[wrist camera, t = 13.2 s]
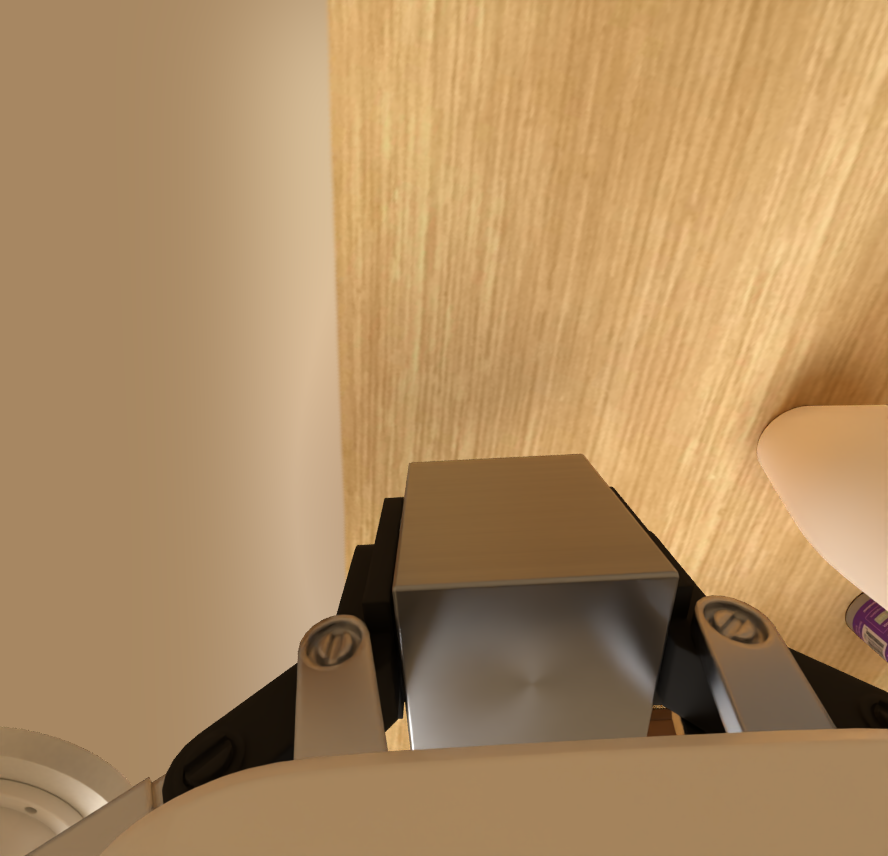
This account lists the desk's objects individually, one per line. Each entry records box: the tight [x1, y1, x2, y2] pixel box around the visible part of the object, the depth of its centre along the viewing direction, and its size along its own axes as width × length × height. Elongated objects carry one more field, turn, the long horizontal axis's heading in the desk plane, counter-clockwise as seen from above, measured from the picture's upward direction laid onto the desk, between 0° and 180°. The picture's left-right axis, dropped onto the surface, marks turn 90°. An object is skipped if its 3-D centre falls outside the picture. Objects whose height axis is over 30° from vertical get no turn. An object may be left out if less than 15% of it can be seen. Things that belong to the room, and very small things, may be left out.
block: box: [392, 454, 679, 750], centre depth 10 cm, size 5×5×5 cm
